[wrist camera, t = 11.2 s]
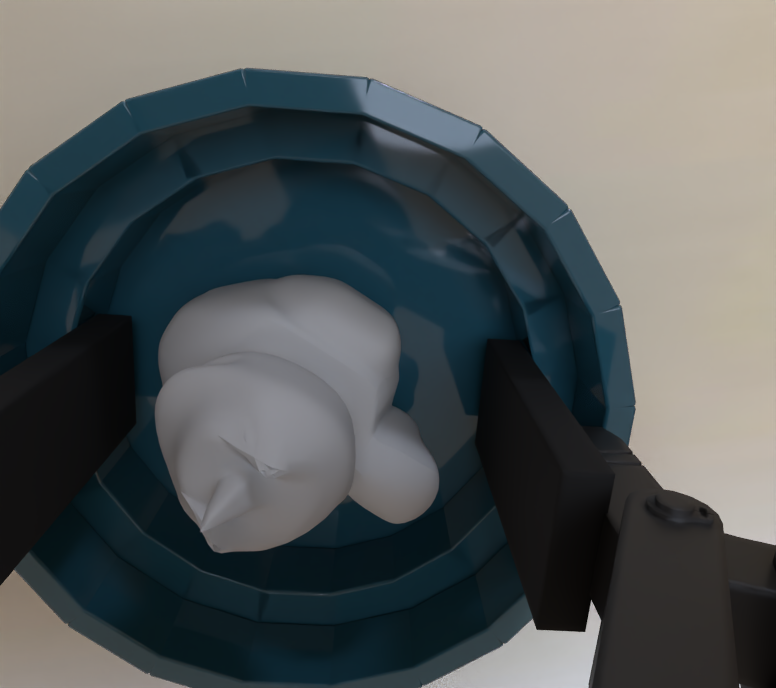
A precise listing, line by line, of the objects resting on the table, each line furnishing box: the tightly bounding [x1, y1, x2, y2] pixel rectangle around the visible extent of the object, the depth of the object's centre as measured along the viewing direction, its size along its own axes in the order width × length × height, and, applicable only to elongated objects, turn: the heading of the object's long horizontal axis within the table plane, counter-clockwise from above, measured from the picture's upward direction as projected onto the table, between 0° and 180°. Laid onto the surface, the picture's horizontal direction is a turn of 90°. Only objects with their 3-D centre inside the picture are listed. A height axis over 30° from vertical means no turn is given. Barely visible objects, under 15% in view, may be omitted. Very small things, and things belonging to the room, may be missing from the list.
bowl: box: [0, 68, 636, 688], centre depth 15 cm, size 13×13×4 cm
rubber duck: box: [155, 275, 439, 553], centre depth 13 cm, size 5×7×8 cm
